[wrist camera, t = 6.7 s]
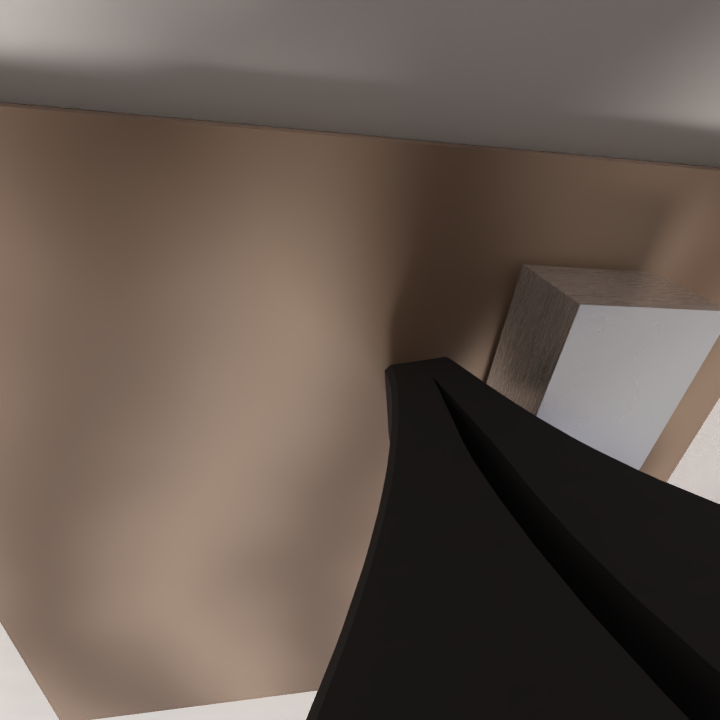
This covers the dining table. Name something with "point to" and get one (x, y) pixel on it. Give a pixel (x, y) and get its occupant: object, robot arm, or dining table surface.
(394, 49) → the dining table surface
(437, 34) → the dining table surface
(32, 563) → the base plate
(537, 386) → the link
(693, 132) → the dining table surface
